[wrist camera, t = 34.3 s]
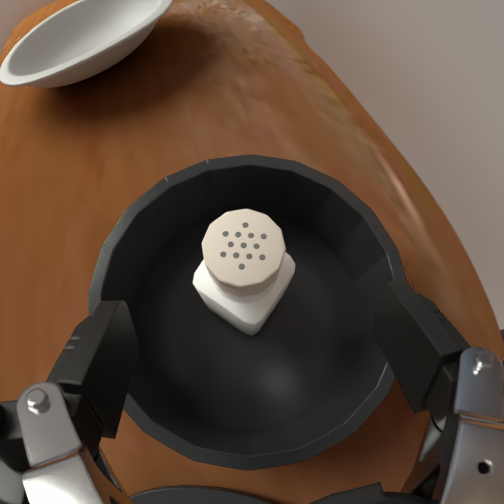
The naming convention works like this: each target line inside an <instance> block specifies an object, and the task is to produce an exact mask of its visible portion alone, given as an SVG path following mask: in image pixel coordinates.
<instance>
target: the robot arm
mask: <svg viewBox="0 0 504 504" xmlns="http://www.w3.org/2000/svg"><path fill="white" fill-rule="evenodd" d="M373 333H374V337H375V340H376V342H377V344H378V345H379V347H380V349H381V351H382V353H383V354H384V356H385V358H386V360H387V362H388V364H389V366H390V367H391V369H392V371H393V373H394V375H395V377H396V379H397V381H398V382H399V384H400V386H401V388H402V390H403V392H404V394H405V396H406V398H407V400H408V402H409V404H410V406H411V408H412V410H413V412H414V414H415V413H418V412H422V411H425V410H429V412H430V414H431V415H430V417H429V418H428V420H427V424H426V427H425V431H424V434H423V438H422V441H421V445H420V448H419V451H418V454H417V457H416V460H415V463H414V466H413V469H412V471H411V473H410V475H409V477H408V479H407V480H406V482H405V484H404V486H403V487H402V489H401V491H400V492H383V489H382V486H381V483H380V482H378V483H375V484H371V485H367V486H363V487H359V488H355V489H351V490H347V491H342V492H338V493H333V494H331V495H329V496H326V497H324V498H322V499H319V500H317V501H314V502H312V503H309V504H504V361H501V360H500V358H499V357H498V356H497V355H496V354H495V353H494V352H492V351H490V350H488V349H486V348H483V347H470V345H469V344H468V343H467V342H466V341H465V339H464V338H463V337H462V336H461V334H460V333H459V332H458V331H457V330H456V328H455V327H454V326H453V325H452V324H451V323H450V321H449V320H448V321H447V318H446V317H445V316H444V314H443V313H440V310H439V309H438V308H437V306H436V305H435V304H434V303H433V302H432V301H431V300H429V299H428V298H426V297H424V296H423V295H421V294H419V293H418V294H417V293H416V292H415V291H414V289H413V288H412V287H411V286H410V285H409V284H408V283H407V282H406V281H404V280H402V281H393V282H385V283H382V285H381V287H380V290H379V296H378V301H377V306H376V311H375V316H374V321H373ZM138 355H139V345H138V339H137V336H136V333H135V330H134V326H133V323H132V320H131V317H130V313H129V310H128V307H127V304H126V302H125V301H123V300H120V301H101V302H100V303H99V305H98V306H97V308H96V310H95V311H94V313H93V315H92V317H87V318H86V319H84V320H83V321H82V322H81V323H80V324H79V325H78V326H77V327H76V328H75V330H74V332H73V333H72V335H71V337H70V340H68V342H67V344H66V345H65V349H63V351H62V353H61V354H60V356H59V358H58V360H57V362H56V363H55V365H54V367H53V369H52V371H51V373H50V375H49V377H48V378H47V380H46V381H43V382H37V383H34V384H32V385H30V386H29V387H27V388H26V389H25V390H24V391H23V392H22V393H21V395H20V396H19V398H18V400H15V401H6V402H0V504H134V503H133V502H132V501H131V499H130V498H129V497H128V495H127V493H126V492H125V490H124V489H123V487H122V485H121V484H120V482H119V480H118V479H117V477H116V475H115V473H114V472H113V470H112V468H111V466H110V464H109V463H108V461H107V459H106V457H105V455H104V453H103V451H102V449H101V448H100V447H99V444H100V440H101V437H106V438H113V439H115V437H116V433H117V429H118V425H119V422H120V418H121V414H122V411H123V407H124V403H125V400H126V396H127V393H128V389H129V386H130V382H131V379H132V376H133V372H134V369H135V366H136V363H137V359H138Z"/></svg>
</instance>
